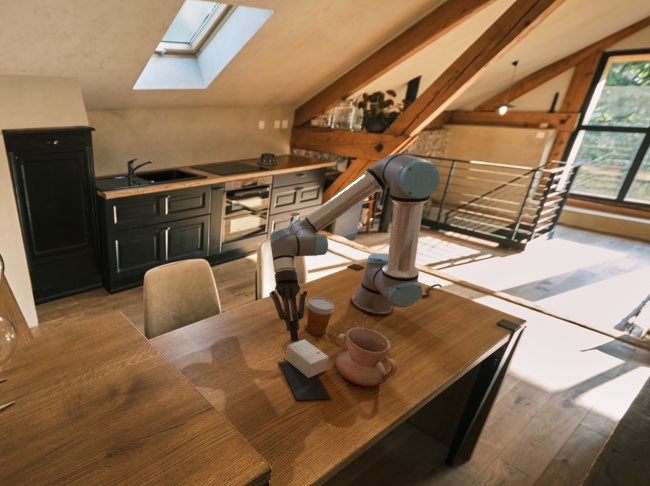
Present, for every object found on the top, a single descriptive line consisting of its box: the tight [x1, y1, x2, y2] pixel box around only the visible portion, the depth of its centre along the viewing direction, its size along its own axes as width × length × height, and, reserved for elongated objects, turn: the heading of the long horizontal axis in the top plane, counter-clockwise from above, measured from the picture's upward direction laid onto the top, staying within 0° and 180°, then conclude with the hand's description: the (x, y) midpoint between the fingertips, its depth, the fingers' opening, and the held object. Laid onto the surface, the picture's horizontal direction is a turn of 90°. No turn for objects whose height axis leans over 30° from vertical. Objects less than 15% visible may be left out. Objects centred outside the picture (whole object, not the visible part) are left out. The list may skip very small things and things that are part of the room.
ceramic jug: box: [335, 326, 398, 387], centre depth 119 cm, size 18×14×14 cm
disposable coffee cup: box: [306, 296, 335, 336], centre depth 141 cm, size 10×10×12 cm
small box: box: [285, 339, 330, 378], centre depth 124 cm, size 8×6×10 cm
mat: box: [278, 361, 331, 401], centre depth 119 cm, size 16×10×1 cm, turn 4°
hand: (294, 340), depth 125 cm, fingers closed
